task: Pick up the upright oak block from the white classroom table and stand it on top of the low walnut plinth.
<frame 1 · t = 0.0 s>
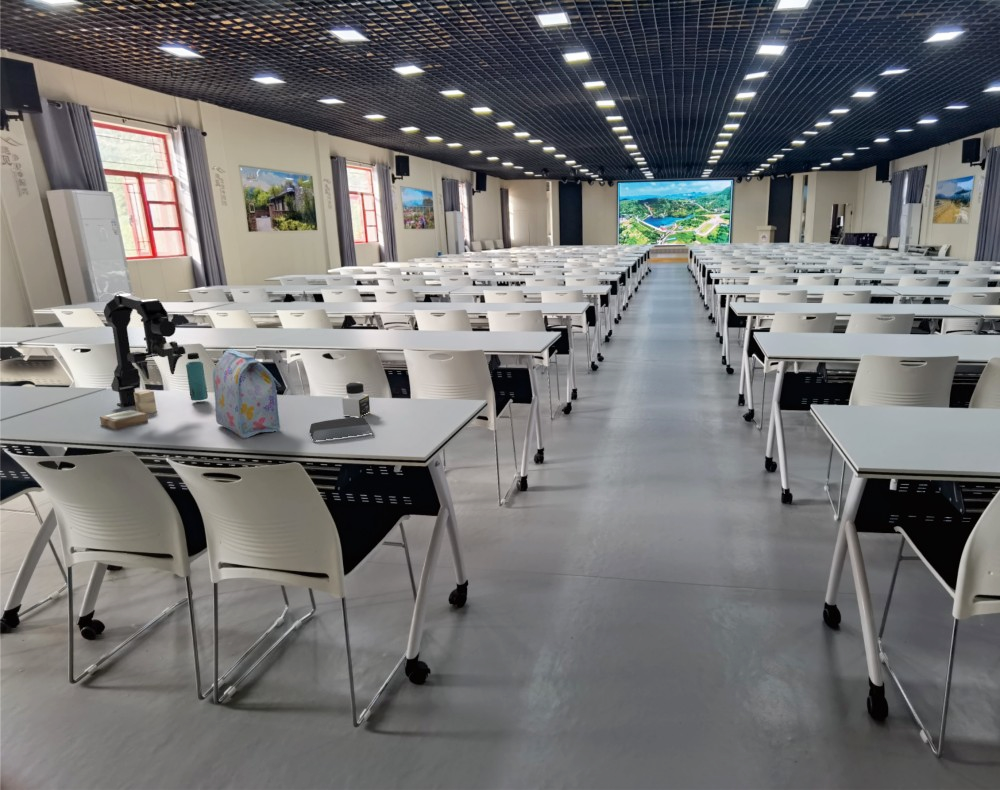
hand: (160, 376, 240), 15 cm above the table, fingers open, 9 cm apart
medicine bottle: (357, 415, 239), on the table
beverage bottle: (199, 402, 260), on the table
lunch bag: (251, 429, 225), on the table
oak block: (146, 412, 248), on the table
external hard drive: (341, 435, 217), on the table
plinth: (124, 423, 234), on the table
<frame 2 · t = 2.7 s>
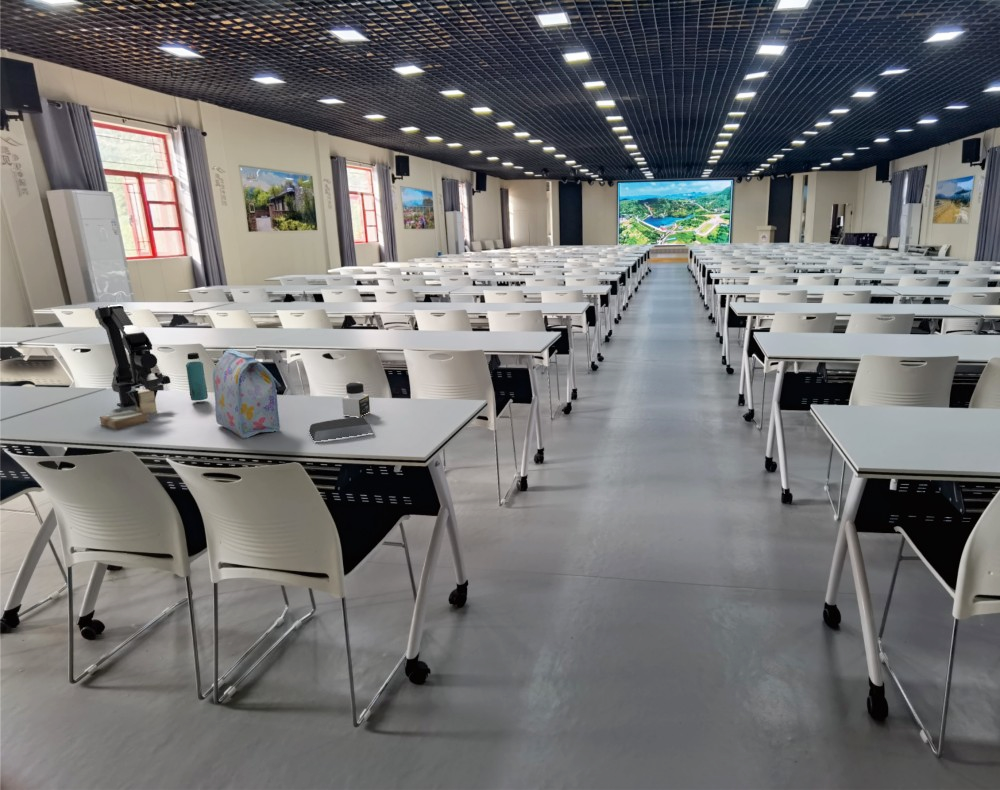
hand: (145, 405, 247), 3 cm above the table, fingers closed on oak block, 5 cm apart
oak block: (147, 412, 248), on the table, touching gripper
everything else where it was.
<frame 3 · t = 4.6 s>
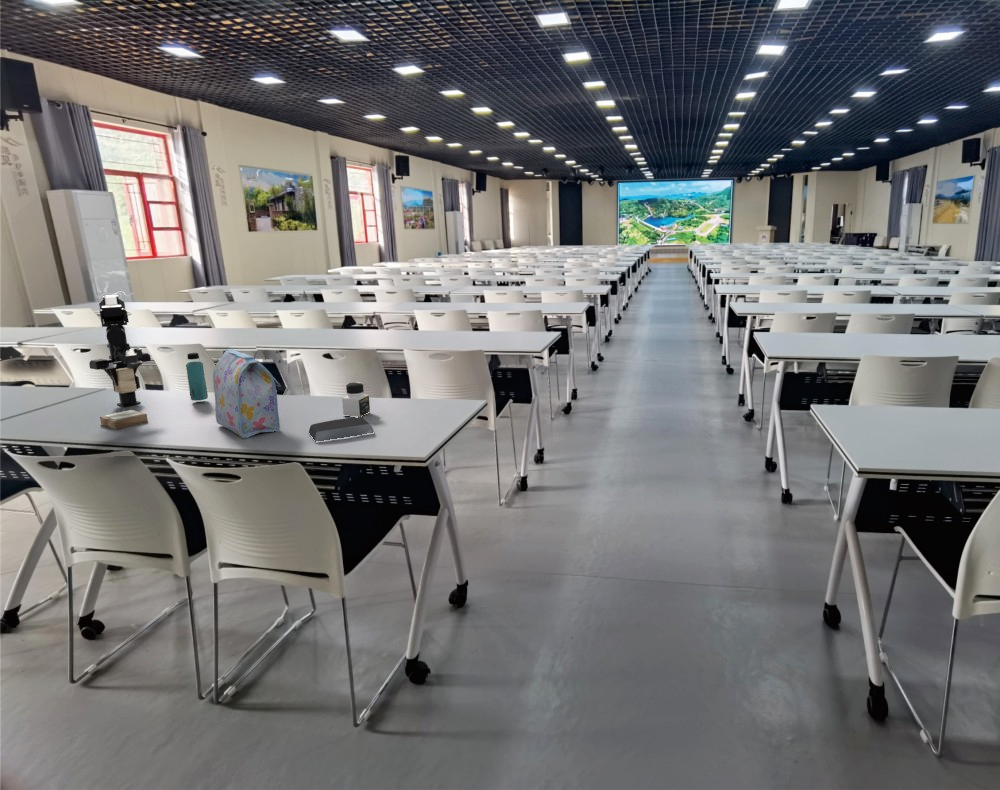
hand: (124, 384, 233), 14 cm above the table, fingers closed on oak block, 5 cm apart
oak block: (126, 391, 234), point 11 cm above the table, touching gripper
everything else where it was.
when the fingers open (7 cm above the table, at t = 6.8 s): oak block stays where it is, resting on plinth.
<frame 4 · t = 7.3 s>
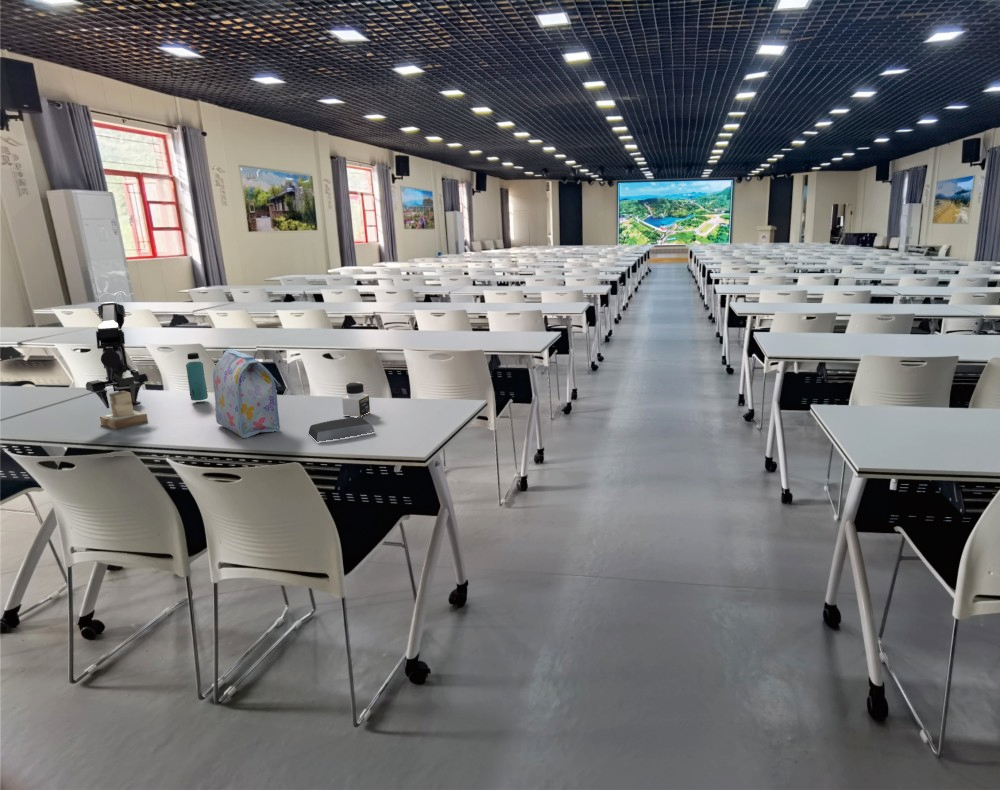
hand: (121, 405, 232), 7 cm above the table, fingers open, 9 cm apart
oak block: (123, 414, 233), point 3 cm above the table, touching plinth
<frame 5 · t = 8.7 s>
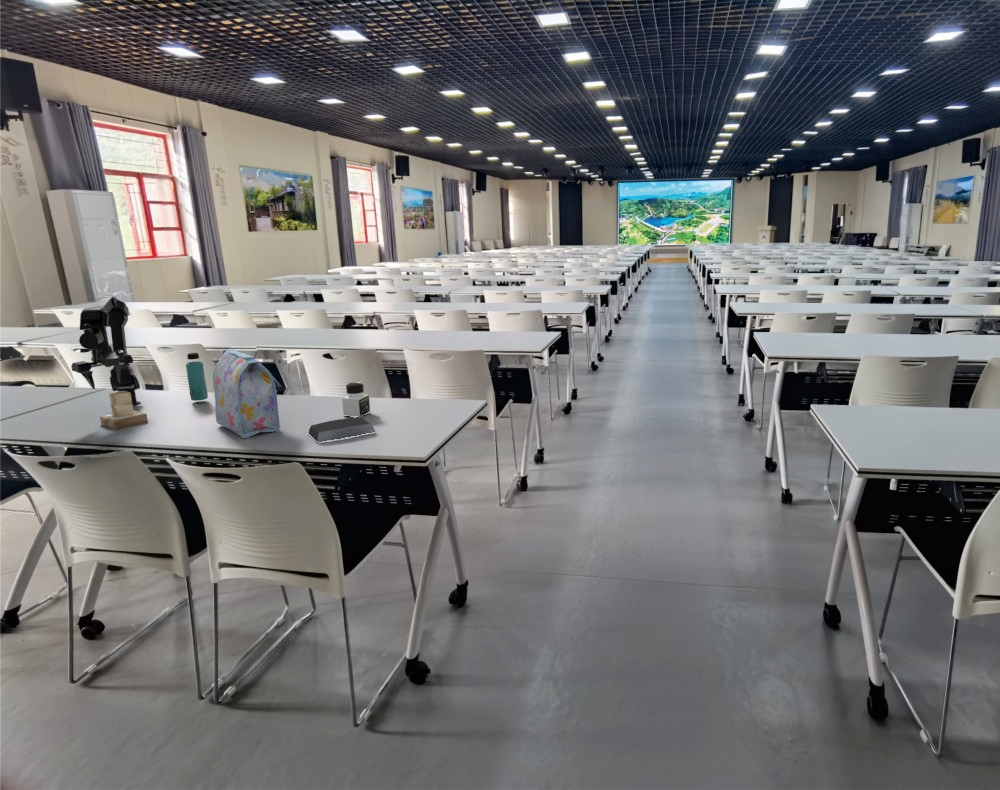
hand: (107, 386, 236), 13 cm above the table, fingers open, 9 cm apart
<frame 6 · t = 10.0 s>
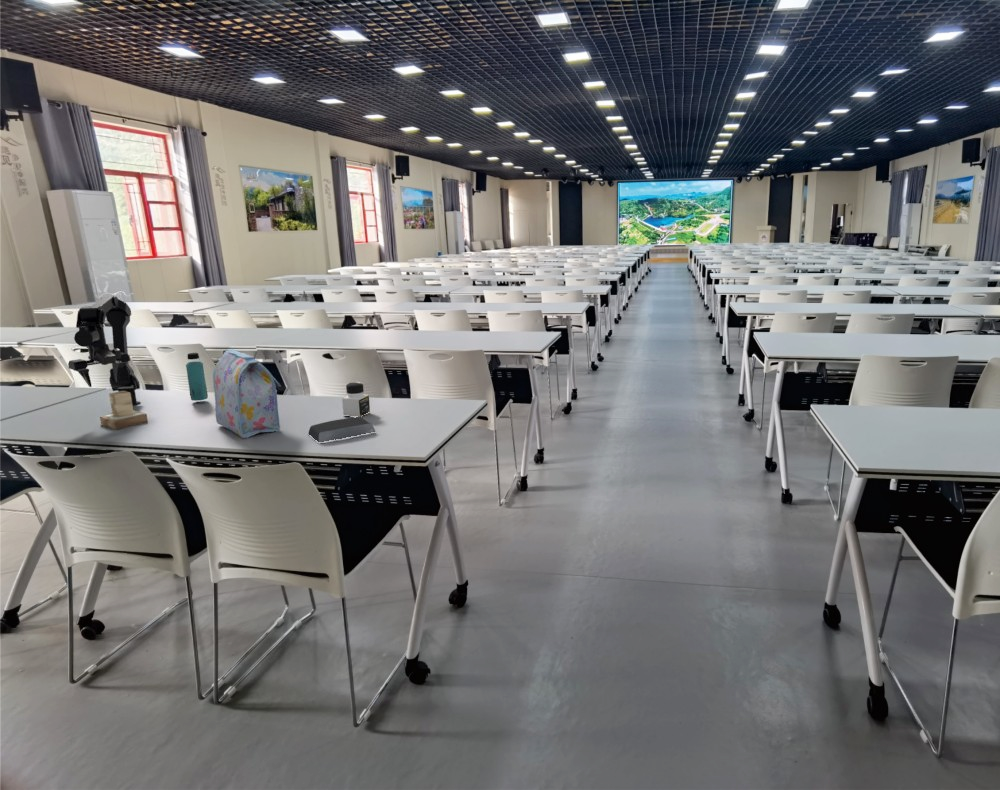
hand: (104, 384, 237), 13 cm above the table, fingers open, 9 cm apart
at the end: oak block inside the target area on the plinth (0.0 cm from its centre), point 3.2 cm above the plinth's base; oak block tilted 0°; the gripper is holding nothing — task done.
